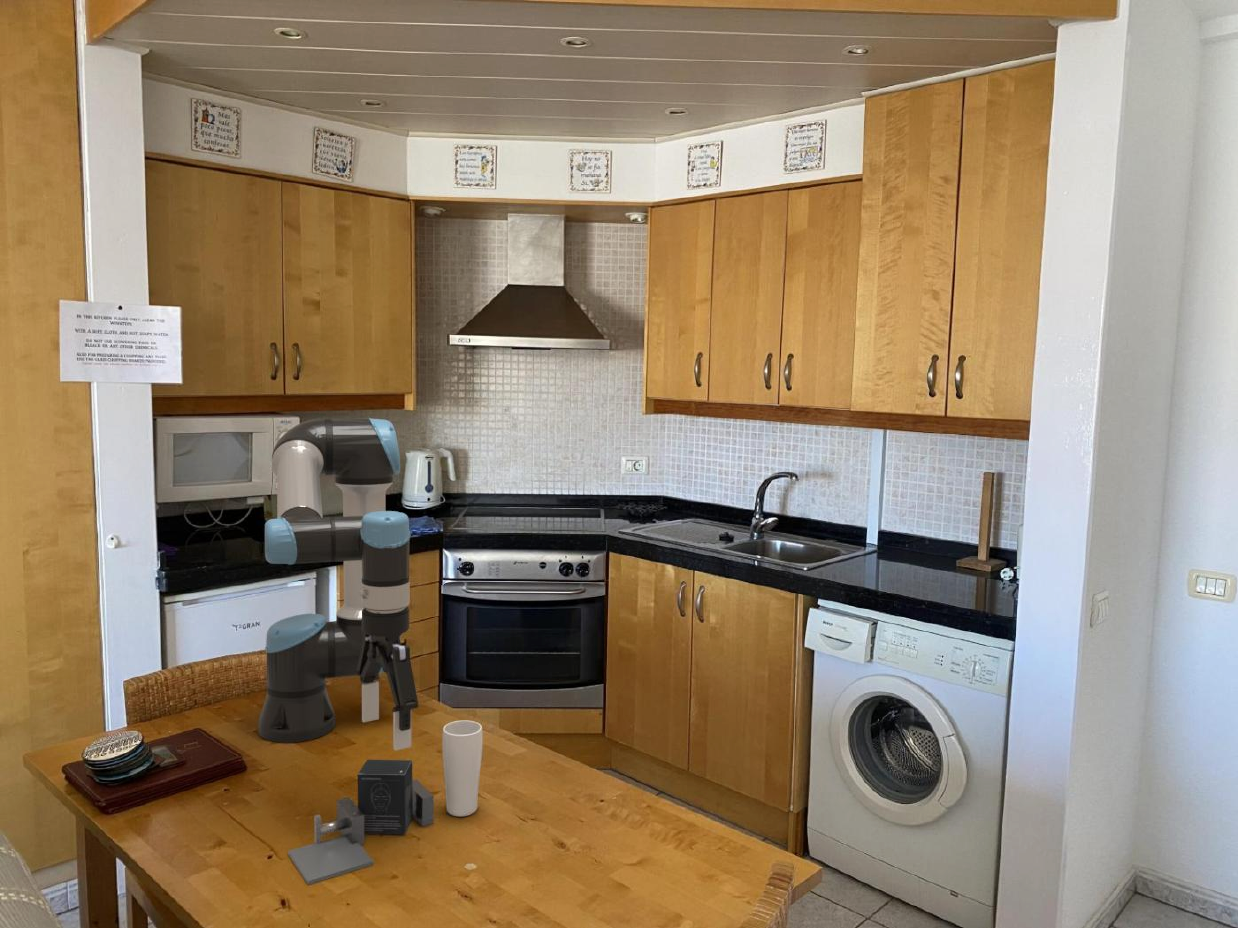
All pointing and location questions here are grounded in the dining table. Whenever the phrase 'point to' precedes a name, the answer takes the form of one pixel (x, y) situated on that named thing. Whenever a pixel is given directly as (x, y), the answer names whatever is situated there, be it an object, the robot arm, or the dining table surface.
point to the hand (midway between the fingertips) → (385, 733)
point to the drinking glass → (462, 766)
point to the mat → (329, 859)
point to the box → (386, 796)
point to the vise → (353, 818)
